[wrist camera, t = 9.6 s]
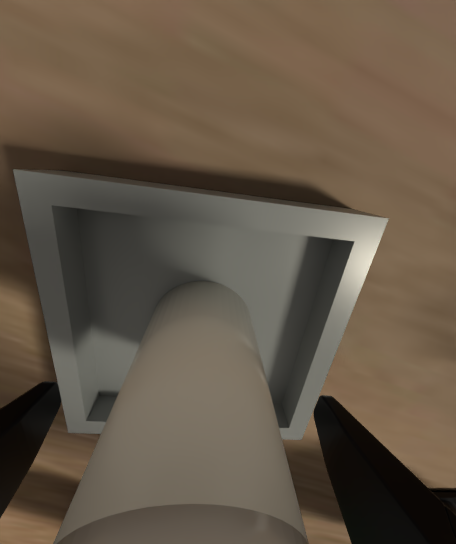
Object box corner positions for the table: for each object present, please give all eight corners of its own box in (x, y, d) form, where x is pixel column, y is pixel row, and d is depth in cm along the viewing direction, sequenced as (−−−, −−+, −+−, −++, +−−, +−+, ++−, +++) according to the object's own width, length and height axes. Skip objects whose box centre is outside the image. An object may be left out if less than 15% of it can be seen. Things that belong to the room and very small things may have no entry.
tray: (352, 209, 11) (388, 218, 9) (289, 401, 16) (301, 439, 14) (60, 170, 10) (13, 169, 7) (91, 392, 15) (68, 432, 12)
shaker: (258, 286, 11) (386, 607, 3) (242, 364, 13) (292, 693, 5) (152, 276, 11) (-59, 631, 2) (152, 359, 13) (34, 717, 4)
